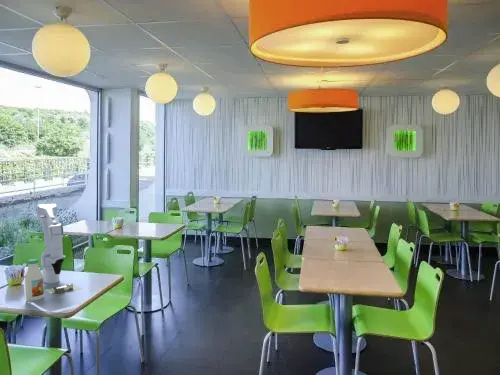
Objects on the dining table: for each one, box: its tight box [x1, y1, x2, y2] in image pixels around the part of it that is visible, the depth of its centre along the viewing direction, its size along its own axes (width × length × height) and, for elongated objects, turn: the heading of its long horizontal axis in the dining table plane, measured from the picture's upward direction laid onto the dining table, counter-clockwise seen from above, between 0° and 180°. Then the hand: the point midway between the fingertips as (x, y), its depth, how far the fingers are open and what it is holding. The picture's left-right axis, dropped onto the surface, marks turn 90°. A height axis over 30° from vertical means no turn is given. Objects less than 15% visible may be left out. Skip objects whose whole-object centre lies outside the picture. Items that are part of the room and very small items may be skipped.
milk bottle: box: [24, 258, 45, 303], centre depth 210 cm, size 8×8×20 cm
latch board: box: [44, 284, 83, 296], centre depth 224 cm, size 13×14×4 cm
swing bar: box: [52, 283, 74, 294], centre depth 220 cm, size 10×3×3 cm, turn 137°
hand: (57, 273), depth 223 cm, fingers closed
